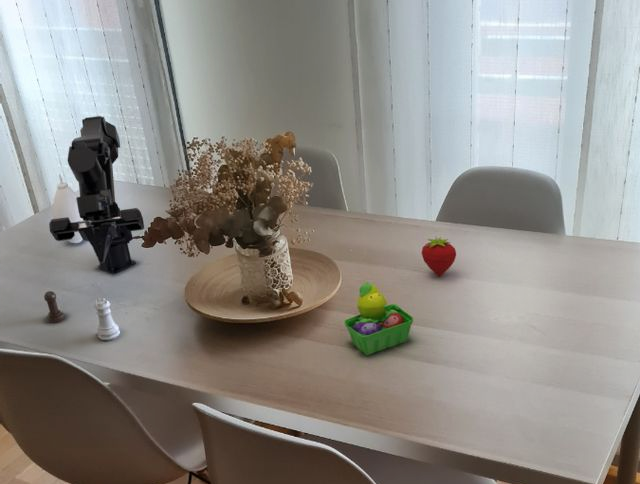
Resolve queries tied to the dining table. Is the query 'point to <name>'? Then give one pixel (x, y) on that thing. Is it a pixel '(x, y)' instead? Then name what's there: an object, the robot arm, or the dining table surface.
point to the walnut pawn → (53, 308)
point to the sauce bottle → (66, 207)
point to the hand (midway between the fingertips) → (101, 262)
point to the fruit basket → (377, 322)
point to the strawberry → (439, 255)
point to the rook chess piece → (106, 321)
